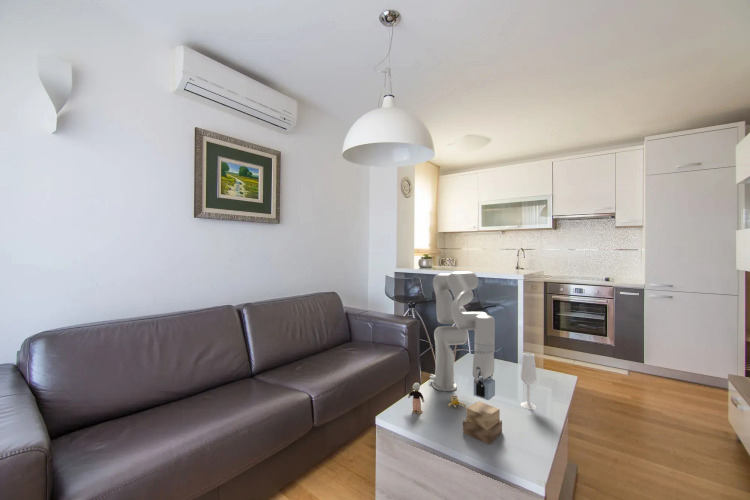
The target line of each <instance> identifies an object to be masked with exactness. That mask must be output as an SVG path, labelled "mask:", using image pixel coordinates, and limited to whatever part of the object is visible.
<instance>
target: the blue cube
mask: <svg viewBox="0 0 750 500" xmlns="http://www.w3.org/2000/svg"><path fill="white" fill-rule="evenodd" d="M479 377H481V378H482V376H479ZM479 381H481V383H482V379H479ZM484 387H485V397H481V396H478V395H476V383H475V381H474V380H473V396H474V397H477V398H480V399H483V400H486V401H489V400H491V399H492V398H494V397H495V396H496V380H495V379H489V378H486V379H485V381H484Z"/></svg>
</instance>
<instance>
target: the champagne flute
mask: <svg viewBox="0 0 750 500" xmlns="http://www.w3.org/2000/svg"><path fill="white" fill-rule="evenodd" d="M520 379H521V380H522V381H523V383H524V384H525V385H526V401H523V402H521V403H520V407H522V408H524V409H526V410H536V409H537V406H536V405H535V404H533V403H532V402H531V400H530V399H531V395H530V394H531V393H530V392H531V391H530V390H531V386H532V385H533V384H535V383H536V382H537V370H536V357H535V354H534V353H532V352H523V353H522V360H521V369H520Z"/></svg>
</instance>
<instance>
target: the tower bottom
mask: <svg viewBox="0 0 750 500" xmlns="http://www.w3.org/2000/svg"><path fill="white" fill-rule="evenodd" d="M462 433H463V434H464V435H467V436H469V437H471V438H474V439H476V440H479V441H481V442H483V443H485V444H488V445H492V443H494V441H496V439H498V437H500V436H501V434H502V433H503V420H502V419H500V422H499V423H497V424H496V425H494V426H493V427H491V428H490V429H488V430H486V429H484V428H481V427H479V426H477V425H475V424H473V423H471V422H469V421H467V420H466V418H465V419H464V420H463V421H462Z"/></svg>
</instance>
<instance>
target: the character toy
mask: <svg viewBox="0 0 750 500" xmlns="http://www.w3.org/2000/svg"><path fill="white" fill-rule="evenodd" d="M459 405H460V406H463V407H464V408H467V405H466V404H465V403H463V402H460V401H459V398H458V395H450V402H449V403H448V407H451V406H454V408H457V406H459Z"/></svg>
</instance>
